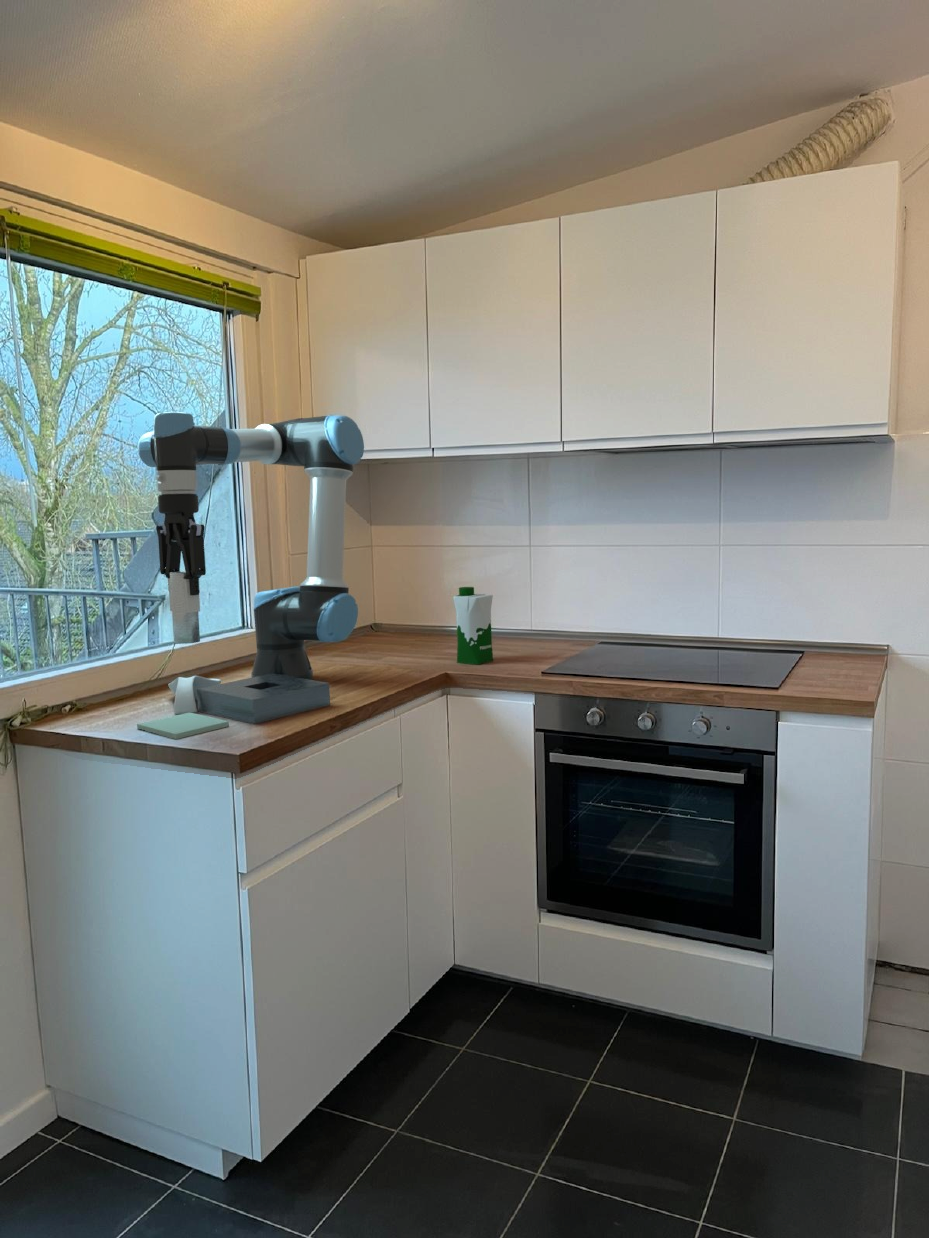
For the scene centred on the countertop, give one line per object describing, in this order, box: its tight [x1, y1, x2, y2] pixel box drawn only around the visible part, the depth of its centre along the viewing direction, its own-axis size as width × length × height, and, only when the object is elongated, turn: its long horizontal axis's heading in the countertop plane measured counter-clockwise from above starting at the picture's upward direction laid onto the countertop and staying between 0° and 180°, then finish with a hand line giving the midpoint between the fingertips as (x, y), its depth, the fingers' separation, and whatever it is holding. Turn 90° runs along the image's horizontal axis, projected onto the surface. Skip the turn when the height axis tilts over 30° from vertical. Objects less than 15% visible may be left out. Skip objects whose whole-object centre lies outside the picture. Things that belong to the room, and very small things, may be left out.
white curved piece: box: [168, 675, 222, 715], centre depth 209 cm, size 24×12×7 cm, turn 10°
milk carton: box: [452, 586, 494, 666], centre depth 247 cm, size 9×9×20 cm
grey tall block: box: [170, 570, 201, 645], centre depth 184 cm, size 5×5×14 cm
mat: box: [136, 712, 230, 740], centre depth 185 cm, size 14×12×1 cm
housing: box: [197, 674, 331, 725], centre depth 200 cm, size 20×20×5 cm
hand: (185, 610), depth 184 cm, fingers closed on grey tall block, 5 cm apart
